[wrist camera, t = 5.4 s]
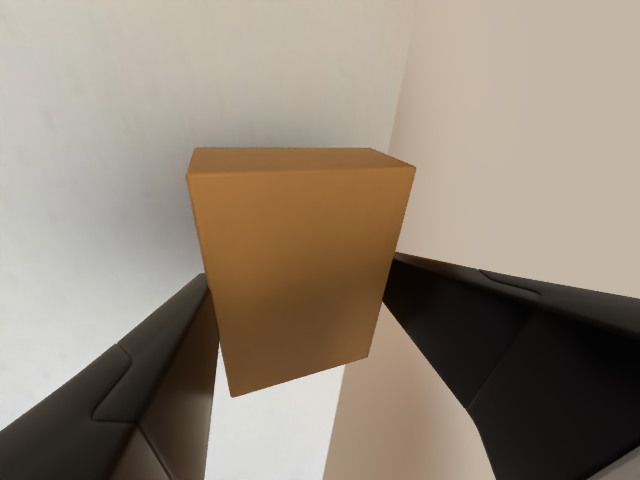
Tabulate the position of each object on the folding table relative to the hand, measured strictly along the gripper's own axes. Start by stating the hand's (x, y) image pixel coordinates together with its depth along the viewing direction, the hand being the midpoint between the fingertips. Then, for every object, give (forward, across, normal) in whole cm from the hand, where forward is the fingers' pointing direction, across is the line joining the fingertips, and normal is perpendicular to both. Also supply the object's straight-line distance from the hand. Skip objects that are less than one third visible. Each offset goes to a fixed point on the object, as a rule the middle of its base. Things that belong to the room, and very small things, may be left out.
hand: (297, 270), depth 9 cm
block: (+1, 0, 0) cm, 1 cm away
